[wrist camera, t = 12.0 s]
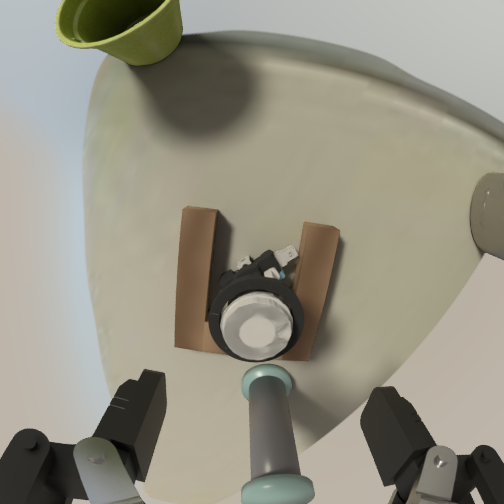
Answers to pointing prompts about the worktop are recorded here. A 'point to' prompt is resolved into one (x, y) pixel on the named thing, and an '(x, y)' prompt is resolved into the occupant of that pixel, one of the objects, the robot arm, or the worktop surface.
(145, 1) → the plant pot
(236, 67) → the worktop surface
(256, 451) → the spool
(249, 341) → the push button
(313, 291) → the notched board
